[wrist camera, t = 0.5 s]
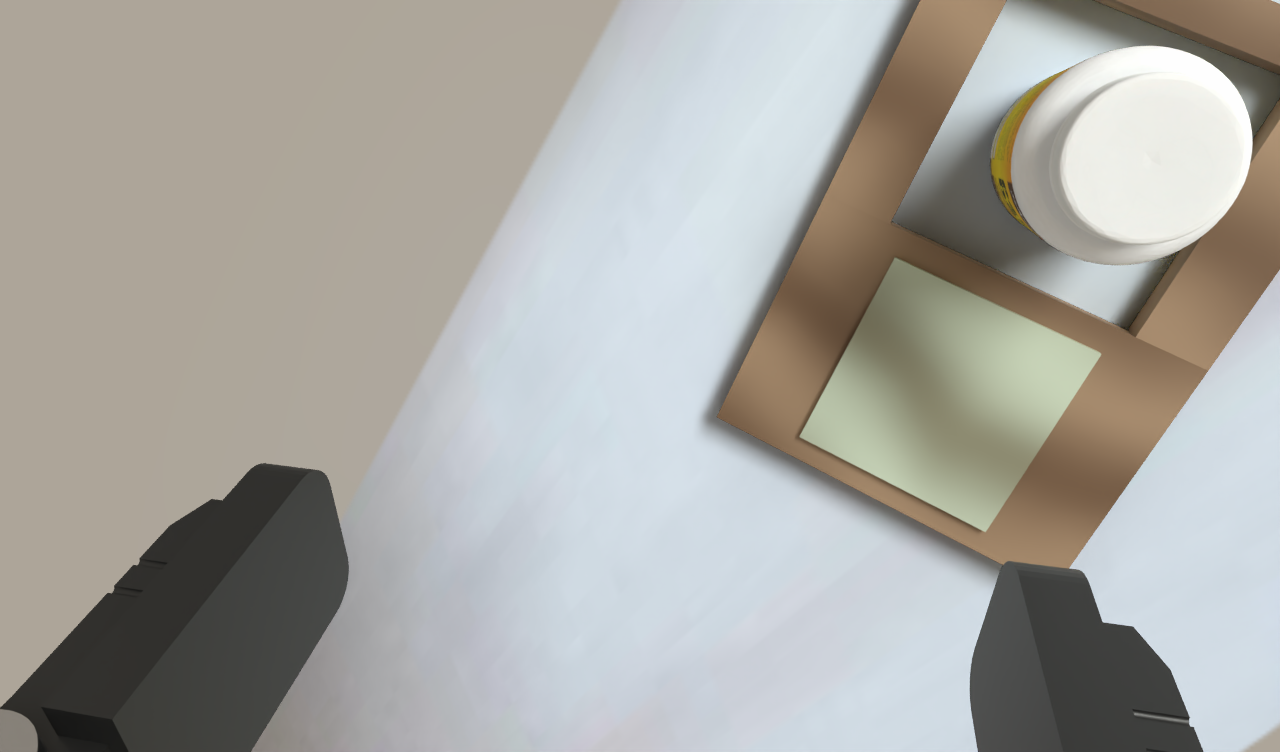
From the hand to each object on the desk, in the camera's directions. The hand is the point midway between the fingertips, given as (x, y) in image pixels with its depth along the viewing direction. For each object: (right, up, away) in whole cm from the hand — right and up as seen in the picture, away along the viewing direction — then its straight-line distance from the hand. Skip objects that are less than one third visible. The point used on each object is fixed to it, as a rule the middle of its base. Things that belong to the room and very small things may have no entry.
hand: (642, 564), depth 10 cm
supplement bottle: (+15, +10, +19) cm, 26 cm away
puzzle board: (+13, +6, +21) cm, 25 cm away
